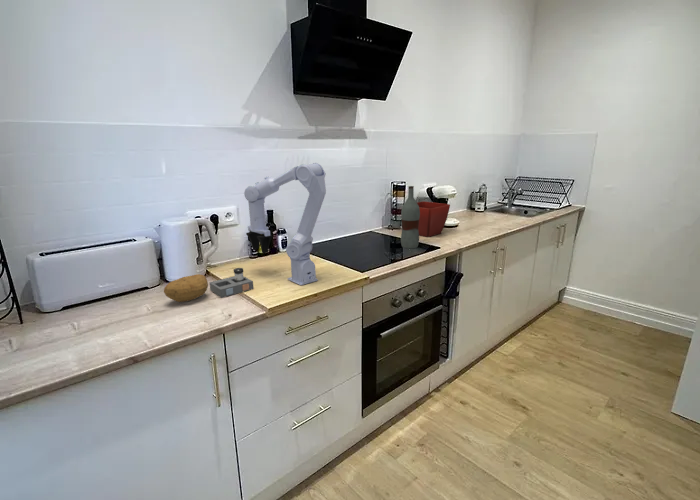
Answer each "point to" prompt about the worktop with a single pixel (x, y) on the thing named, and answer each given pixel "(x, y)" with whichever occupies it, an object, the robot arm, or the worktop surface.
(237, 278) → the jar
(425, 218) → the plant pot
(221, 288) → the socket strip
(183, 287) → the potato
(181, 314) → the worktop surface
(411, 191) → the bottle
